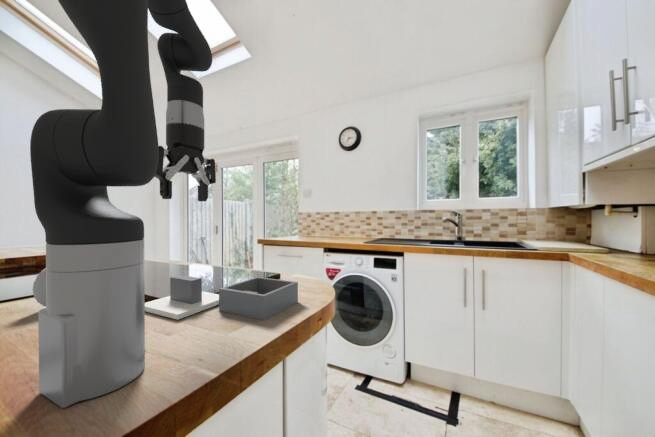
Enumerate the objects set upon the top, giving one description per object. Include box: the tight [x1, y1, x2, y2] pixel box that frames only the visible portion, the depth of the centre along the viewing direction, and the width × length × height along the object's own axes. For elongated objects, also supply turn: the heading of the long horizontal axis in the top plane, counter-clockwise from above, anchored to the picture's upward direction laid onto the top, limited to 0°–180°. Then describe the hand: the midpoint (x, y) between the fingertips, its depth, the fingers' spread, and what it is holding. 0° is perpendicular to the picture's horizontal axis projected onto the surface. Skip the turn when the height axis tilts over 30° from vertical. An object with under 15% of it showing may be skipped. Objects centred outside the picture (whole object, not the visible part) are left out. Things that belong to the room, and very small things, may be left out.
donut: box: [32, 267, 46, 307], centre depth 60 cm, size 10×4×10 cm, turn 179°
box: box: [218, 276, 299, 321], centre depth 59 cm, size 12×12×5 cm
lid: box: [145, 274, 219, 320], centre depth 59 cm, size 13×13×7 cm
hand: (185, 200), depth 59 cm, fingers open, 8 cm apart
